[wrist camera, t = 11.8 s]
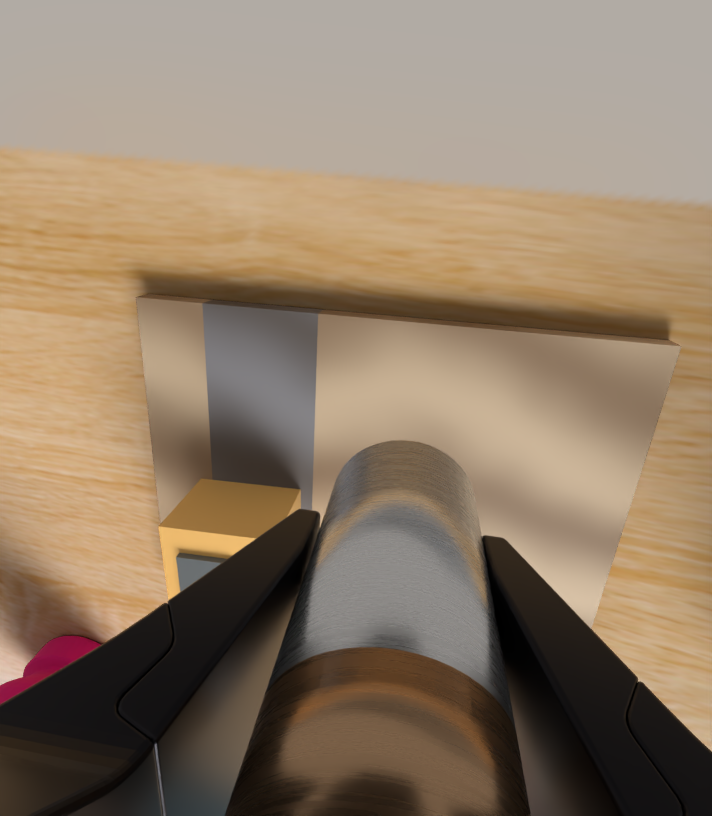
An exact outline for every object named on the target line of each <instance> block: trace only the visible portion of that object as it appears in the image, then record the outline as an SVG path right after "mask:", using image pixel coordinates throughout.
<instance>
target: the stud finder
mask: <svg viewBox="0 0 712 816" xmlns="http://www.w3.org/2000/svg"><path fill="white" fill-rule="evenodd" d="M298 509H301V489H292V488H283V487H274V486H265V485H256V484H246V483H237V482H228V481H219V480H210V479H200V480H199V482H198V483H197V484H196V485H195V486H194V487H193V488H192V489H191V490H190V492H189V493H188V494H187V495H186V496H185V497H184V498H183V499H182V501H181V502H180V503H179V504H178V505H177V506H176V507H175V508H174V509H173V511H172V512H171V513H170V514H169V515H168V516H167V517H166V518H165V519H164V521H163V522H162V523H161V524H160V525H159V526H158V528H159V535H160V542H161V550H162V557H163V564H164V571H165V578H166V585H167V592H168V600H170V599H171V598H172V597H174V596H175V595H177V594H178V593H180V592H181V591H182V590H184V589H185V588H187V587H188V586H190V585H191V584H192V583H194V582H195V581H197V580H198V579H199V578H201V577H202V576H204V575H205V574H207V573H208V572H209V571H211V570H212V569H214V568H215V567H217V566H218V565H219V564H221V563H222V562H224V561H225V560H226V559H228V558H229V557H231V556H232V555H234V554H235V553H236V552H238V551H239V550H241V549H242V548H244V547H245V546H246V545H248V544H249V543H251V542H252V541H253V540H255V539H256V538H258V537H259V536H261V535H262V534H263V533H265V532H266V531H268V530H269V529H271V528H272V527H273V526H275V525H276V524H278V523H279V522H281V521H282V520H283V519H285V518H286V517H288V516H289V515H290V514H292V513H293V512H295V511H296V510H298Z"/></svg>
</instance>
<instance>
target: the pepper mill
mask: <svg viewBox="0 0 712 816" xmlns="http://www.w3.org/2000/svg"><path fill="white" fill-rule="evenodd" d="M100 645H101V644H99V643H97V642H95V641H92V640H90V639H88V638H84V637H80V636H61V637H58V638H55V639H52V640H50V641H49V642H48V643H47V644H46V645H45V646H44V647H43V648H42V649H41V650H40V651H39V652H38V653H37V654H36V655H35V656H34V658H33V659H32V660H31V661H30V662H29V663H28V664H27V666H26V667H25V669H24V673H23V677H22V678H18V679H15V680H12V681H9V682H6V683H4V684H2V685H0V704H1V703H3V702H5V701H7V700H8V699H10V698H12V697H13V696H15V695H17V694H19V693H20V692H22V691H24V690H25V689H27V688H29V687H31V686H32V685H34V684H36V683H37V682H39V681H41V680H43V679H44V678H46V677H48V676H49V675H51V674H53V673H55V672H56V671H58V670H60V669H61V668H63V667H65V666H67V665H68V664H70V663H72V662H73V661H75V660H77V659H79V658H80V657H82V656H84V655H85V654H87V653H89V652H90V651H92V650H94V649H95V648H97V647H99V646H100Z"/></svg>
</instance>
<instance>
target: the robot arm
mask: <svg viewBox="0 0 712 816" xmlns="http://www.w3.org/2000/svg"><path fill="white" fill-rule="evenodd" d="M319 529H320V513H319V512H318V511H314V510H307V509H298V510H296V511H295V512H293V513H292V514H290V515H289V516H288V517H286V518H285V519H283V520H282V521H281V522H279V523H278V524H276V525H275V526H273V527H272V528H271V529H269V530H268V531H266V532H265V533H263V534H262V535H261V536H259V537H258V538H256V539H255V540H253V541H252V542H251V543H249V544H248V545H246V546H245V547H244V548H242V549H241V550H239V551H238V552H236V553H235V554H234V555H232V556H231V557H229V558H228V559H226V560H225V561H224V562H222V563H221V564H219V565H218V566H217V567H215V568H214V569H212V570H211V571H209V572H208V573H207V574H205V575H204V576H202V577H201V578H199V579H198V580H197V581H195V582H194V583H192V584H191V585H190V586H188V587H187V588H185V589H184V590H182V591H181V592H180V593H178V594H177V595H175V596H174V597H172V598H171V599H170V600H169V601H168V604H167V603H164V604H162V605H161V606H159V607H158V608H157V609H155V610H154V611H152V612H151V613H149V614H148V615H147V616H145V617H144V618H142V619H141V620H139V621H138V622H136V623H135V624H133V625H132V626H130V627H129V628H127V629H126V630H124V631H123V632H121V633H120V634H118V635H117V636H115V637H113V638H112V639H110V640H108V641H107V642H105V643H103V644H102V645H100V646H99V647H97V648H95V649H94V650H92V651H90V652H89V653H87V654H85V655H84V656H82V657H80V658H79V659H77V660H75V661H73V662H72V663H70V664H68V665H67V666H65V667H63V668H61V669H60V670H58V671H56V672H55V673H53V674H51V675H49V676H48V677H46V678H44V679H43V680H41V681H39V682H37V683H36V684H34V685H32V686H31V687H29V688H27V689H25V690H24V691H22V692H20V693H19V694H17V695H15V696H13V697H12V698H10V699H8V700H7V701H5V702H3V703H1V704H0V816H225V813H226V810H227V807H228V804H229V801H230V798H231V795H232V792H233V789H234V786H235V783H236V780H237V777H238V774H239V771H240V768H241V765H242V762H243V759H244V756H245V753H246V750H247V747H248V744H249V741H250V738H251V735H252V732H253V729H254V726H255V723H256V720H257V717H258V713H259V710H260V707H261V704H262V701H263V698H264V695H265V692H266V689H267V686H268V683H269V680H270V677H271V674H272V671H273V668H274V665H275V662H276V659H277V656H278V653H279V650H280V647H281V644H282V641H283V638H284V635H285V632H286V629H287V626H288V623H289V620H290V617H291V614H292V611H293V608H294V605H295V602H296V599H297V596H298V593H299V590H300V587H301V584H302V581H303V578H304V575H305V572H306V569H307V566H308V563H309V560H310V557H311V554H312V551H313V548H314V545H315V541H316V538H317V535H318V532H319ZM482 541H483V546H484V552H485V558H486V563H487V569H488V575H489V580H490V586H491V592H492V597H493V603H494V608H495V614H496V620H497V625H498V631H499V637H500V642H501V648H502V654H503V659H504V665H505V671H506V676H507V682H508V688H509V693H510V699H511V705H512V710H513V716H514V722H515V727H516V733H517V739H518V744H519V750H520V756H521V761H522V767H523V773H524V778H525V784H526V790H527V795H528V801H529V807H530V812H531V816H712V752H711V751H710V750H709V749H708V748H707V747H706V746H705V745H704V744H703V743H702V742H701V741H700V740H699V739H698V738H697V737H695V736H694V735H693V734H692V733H691V732H690V731H689V730H688V729H687V728H686V727H685V726H684V724H683V723H682V722H681V721H680V720H679V719H678V718H677V717H676V716H675V715H674V714H673V713H672V712H671V711H670V710H669V709H668V708H667V707H666V706H665V705H664V704H663V703H662V702H661V701H660V700H659V699H658V698H657V697H656V696H655V695H654V694H653V693H652V692H651V691H650V690H649V689H648V688H647V687H646V686H645V684H644V683H642V682H638V678H637V676H636V675H635V674H634V673H633V672H632V671H631V670H630V669H629V668H628V667H627V666H626V665H625V664H624V663H623V662H622V661H621V660H620V659H619V658H618V656H617V655H616V654H615V653H614V652H613V651H612V650H611V649H610V648H609V647H608V646H607V645H606V644H605V643H604V642H603V641H602V640H601V639H600V638H599V637H598V635H597V634H596V633H595V632H594V631H593V630H592V629H591V628H590V627H589V626H588V625H587V624H586V623H585V622H584V621H583V620H582V619H581V618H580V617H579V616H578V615H577V613H576V612H575V611H574V610H573V609H572V608H571V607H570V606H569V605H568V604H567V603H566V602H565V601H564V600H563V599H562V598H561V597H560V596H559V595H558V594H557V593H556V591H555V590H554V589H553V588H552V587H551V586H550V585H549V584H548V583H547V582H546V581H545V580H544V579H543V578H542V577H541V576H540V575H539V574H538V573H537V572H536V571H535V569H534V568H533V567H532V566H531V565H530V564H529V563H528V562H527V561H526V560H525V559H524V558H523V557H522V556H521V555H520V554H519V553H518V552H517V551H516V550H515V549H514V547H513V546H512V545H511V544H510V543H509V542H508V541H507V540H506V539H504V538H502V537H496V536H488V535H483V536H482ZM637 682H638V683H637Z"/></svg>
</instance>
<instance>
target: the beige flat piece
mask: <svg viewBox="0 0 712 816" xmlns="http://www.w3.org/2000/svg"><path fill="white" fill-rule="evenodd" d="M136 303H137V312H138V322H139V331H140V340H141V349H142V359H143V368H144V377H145V387H146V396H147V405H148V414H149V424H150V433H151V442H152V452H153V461H154V470H155V479H156V489H157V498H158V507H159V517H160V524H161V523H162V522H163V521H164V519H165V518H166V517H167V516H168V515H169V514H170V513H171V512H172V511H173V509H174V508H175V507H176V506H177V505H178V504H179V503H180V502H181V501H182V499H183V498H184V497H185V496H186V495H187V494H188V493H189V492H190V490H191V489H192V488H193V487H194V486H195V485H196V484H197V483H198V482H199V480H200V479H210V480H219V481H228V482H237V483H246V484H256V485H265V486H274V487H283V488H292V489H301V509H307V510H314V511H318V512H319V513H320V526H321V523H322V520H323V517H324V514H325V511H326V508H327V505H328V502H329V499H330V496H331V493H332V490H333V487H334V484H335V481H336V478H337V476H338V474H339V472H340V471H341V469H342V468H343V466H344V465H345V464H346V463H347V462H348V461H349V459H351V458H352V457H353V456H354V455H355V454H357V453H358V452H360V451H362V450H363V449H365V448H367V447H369V446H372V445H374V444H378V443H381V442H386V441H394V440H407V441H415V442H420V443H424V444H427V445H430V446H432V447H435V448H437V449H439V450H441V451H442V452H444V453H446V454H447V455H449V456H450V457H451V458H452V459H454V460H455V461H456V462H457V463H458V464H459V465H460V466H461V467H462V469H463V470H464V471H465V473H466V474H467V476H468V478H469V480H470V482H471V484H472V487H473V490H474V495H475V501H476V506H477V512H478V518H479V523H480V529H481V535H482V536H483V535H488V536H496V537H502V538H504V539H506V540H507V541H508V542H509V543H510V544H511V545H512V546H513V547H514V549H515V550H516V551H517V552H518V553H519V554H520V555H521V556H522V557H523V558H524V559H525V560H526V561H527V562H528V563H529V564H530V565H531V566H532V567H533V568H534V569H535V571H536V572H537V573H538V574H539V575H540V576H541V577H542V578H543V579H544V580H545V581H546V582H547V583H548V584H549V585H550V586H551V587H552V588H553V589H554V590H555V591H556V593H557V594H558V595H559V596H560V597H561V598H562V599H563V600H564V601H565V602H566V603H567V604H568V605H569V606H570V607H571V608H572V609H573V610H574V611H575V612H576V613H577V615H578V616H579V617H580V618H581V619H582V620H583V621H584V622H585V623H586V624H587V625H588V626H589V627H590V628H592V625H593V622H594V619H595V615H596V612H597V609H598V606H599V603H600V600H601V597H602V594H603V590H604V587H605V584H606V581H607V578H608V575H609V572H610V569H611V565H612V562H613V559H614V556H615V553H616V550H617V547H618V543H619V540H620V537H621V534H622V531H623V528H624V525H625V522H626V518H627V515H628V512H629V509H630V506H631V503H632V500H633V497H634V493H635V490H636V487H637V484H638V481H639V478H640V475H641V472H642V468H643V465H644V462H645V459H646V456H647V453H648V450H649V446H650V443H651V440H652V437H653V434H654V431H655V428H656V425H657V421H658V418H659V415H660V412H661V409H662V406H663V403H664V400H665V396H666V393H667V390H668V387H669V384H670V381H671V378H672V375H673V371H674V368H675V365H676V362H677V359H678V356H679V353H680V350H681V346H680V345H678V344H676V343H674V342H672V341H670V340H660V339H649V338H638V337H626V336H615V335H604V334H593V333H581V332H570V331H559V330H548V329H537V328H525V327H514V326H503V325H492V324H480V323H469V322H458V321H447V320H435V319H424V318H413V317H402V316H390V315H379V314H368V313H357V312H345V311H334V310H323V309H312V308H301V307H289V306H278V305H267V304H256V303H244V302H233V301H222V300H211V299H199V298H188V297H177V296H166V295H154V294H147V295H143V296H139V297H136Z"/></svg>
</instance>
